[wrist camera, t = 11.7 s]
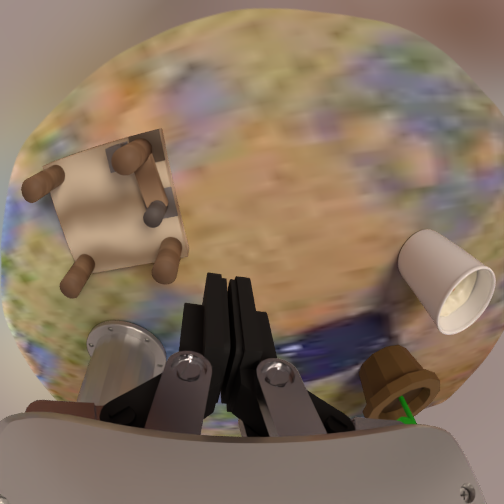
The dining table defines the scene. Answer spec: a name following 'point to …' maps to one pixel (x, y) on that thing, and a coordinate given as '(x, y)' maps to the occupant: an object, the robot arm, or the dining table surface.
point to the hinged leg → (143, 177)
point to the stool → (110, 214)
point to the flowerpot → (396, 385)
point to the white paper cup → (446, 280)
